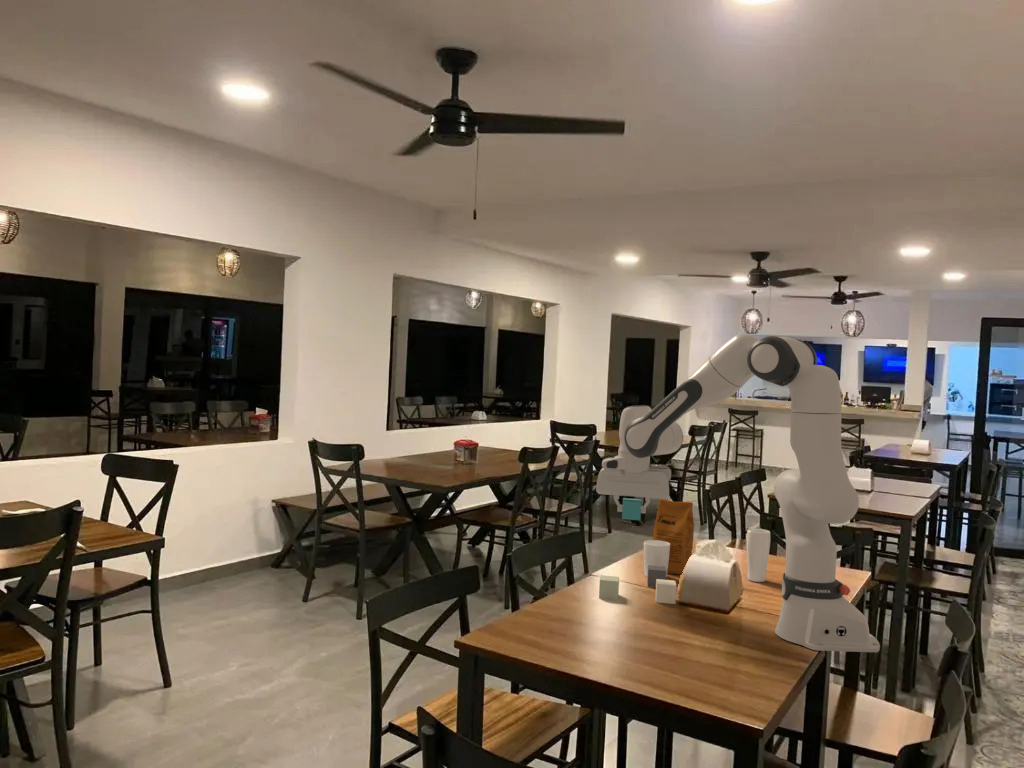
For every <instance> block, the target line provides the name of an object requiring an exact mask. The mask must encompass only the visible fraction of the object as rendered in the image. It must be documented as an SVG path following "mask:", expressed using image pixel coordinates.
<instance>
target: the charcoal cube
mask: <svg viewBox="0 0 1024 768" xmlns="http://www.w3.org/2000/svg"><path fill="white" fill-rule="evenodd" d="M656 579H662V580H667V577H666V567H664V566H653V565H648V577H647V578H646V580H647V581H646V582H647V587H649V588H656Z"/></svg>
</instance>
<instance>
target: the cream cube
mask: <svg viewBox="0 0 1024 768" xmlns="http://www.w3.org/2000/svg"><path fill="white" fill-rule="evenodd" d="M676 582H677V581H676V580H673V579H671V580H670V579H666V580H662V579H656V587H655V603H660V604H668V605H669V604H670V605H676V601H677V598H676V597H677V596H676V595H677V583H676Z"/></svg>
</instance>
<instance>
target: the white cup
mask: <svg viewBox="0 0 1024 768" xmlns="http://www.w3.org/2000/svg"><path fill="white" fill-rule="evenodd" d="M669 554H670V543H668V542H665V541H659V540H653V539H649V540H644V541H643V568H644V569H643V571H644V572H643V576H645V578H648V565H653V566H664V567H666V578H667V577H668V573H667V569H668V564H669Z"/></svg>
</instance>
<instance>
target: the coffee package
mask: <svg viewBox="0 0 1024 768" xmlns="http://www.w3.org/2000/svg"><path fill="white" fill-rule="evenodd" d="M659 499H660V500H659V504H658V506H657V512H656V517H655V523H654V526H653V527H654V528H653V538H652V540H659V541H665V542H668V543H670V554H669V564H668V569H667V574H670V575H671V574H672V575H681V576H683V575H682V573H683V572H682V571H683V569H684V567H685V565H686V563H687V561H688V559H689V557H690V556H691V555H692V556H693V548H694V547H693V545H694V532H695V521H694V512H693V506H694V504H693V501H673V500H670V499H668V498H666V499H663V498H659Z"/></svg>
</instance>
